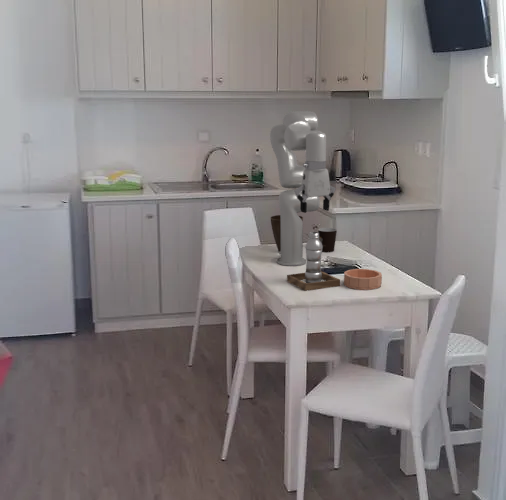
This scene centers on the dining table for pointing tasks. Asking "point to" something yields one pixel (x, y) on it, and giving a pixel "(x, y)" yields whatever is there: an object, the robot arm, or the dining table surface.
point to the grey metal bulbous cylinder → (313, 258)
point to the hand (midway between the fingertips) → (314, 211)
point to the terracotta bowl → (362, 279)
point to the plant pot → (277, 229)
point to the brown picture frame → (329, 282)
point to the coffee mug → (327, 238)
